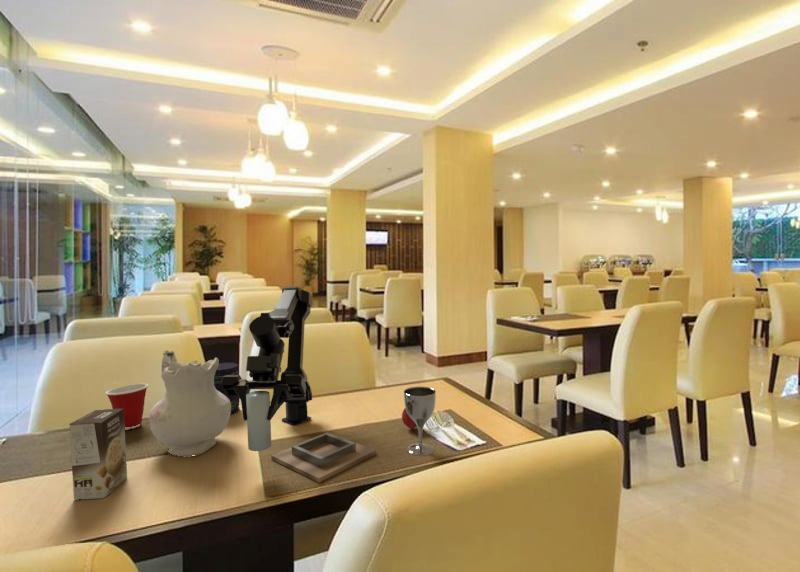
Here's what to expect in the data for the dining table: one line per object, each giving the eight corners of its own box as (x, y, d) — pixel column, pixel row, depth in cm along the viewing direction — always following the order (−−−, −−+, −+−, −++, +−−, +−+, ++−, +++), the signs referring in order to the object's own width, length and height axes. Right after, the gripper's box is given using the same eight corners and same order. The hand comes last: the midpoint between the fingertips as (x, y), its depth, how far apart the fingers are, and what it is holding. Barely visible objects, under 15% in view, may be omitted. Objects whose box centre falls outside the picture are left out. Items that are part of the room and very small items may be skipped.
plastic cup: (135, 418, 140) (133, 380, 139) (158, 423, 135) (156, 384, 135) (99, 430, 130) (96, 390, 130) (122, 436, 126) (120, 394, 125)
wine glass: (439, 444, 116) (439, 387, 115) (431, 458, 109) (430, 397, 108) (410, 441, 119) (409, 385, 118) (400, 454, 111) (399, 394, 110)
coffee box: (105, 498, 93) (100, 422, 92) (72, 500, 92) (67, 424, 91) (128, 477, 102) (124, 407, 101) (98, 478, 102) (94, 409, 101)
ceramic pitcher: (128, 459, 114) (115, 364, 110) (188, 425, 132) (179, 343, 128) (195, 472, 106) (184, 370, 103) (249, 434, 125) (241, 347, 121)
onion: (420, 433, 124) (420, 405, 123) (400, 432, 125) (399, 404, 124) (424, 426, 129) (423, 398, 129) (404, 424, 131) (403, 397, 130)
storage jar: (245, 407, 148) (244, 362, 147) (228, 418, 139) (226, 370, 138) (218, 406, 150) (216, 362, 149) (200, 416, 141) (197, 369, 140)
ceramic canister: (243, 447, 101) (241, 394, 100) (263, 439, 105) (261, 389, 104) (256, 453, 98) (253, 399, 97) (275, 445, 102) (273, 393, 101)
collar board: (271, 459, 110) (271, 447, 109) (328, 436, 123) (328, 425, 123) (318, 482, 98) (318, 469, 98) (376, 454, 112) (375, 442, 111)
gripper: (221, 341, 104) (201, 403, 94) (301, 339, 104) (291, 402, 93) (235, 366, 112) (219, 426, 102) (310, 365, 112) (301, 425, 102)
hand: (256, 419), depth 100 cm, fingers closed on ceramic canister, 5 cm apart
